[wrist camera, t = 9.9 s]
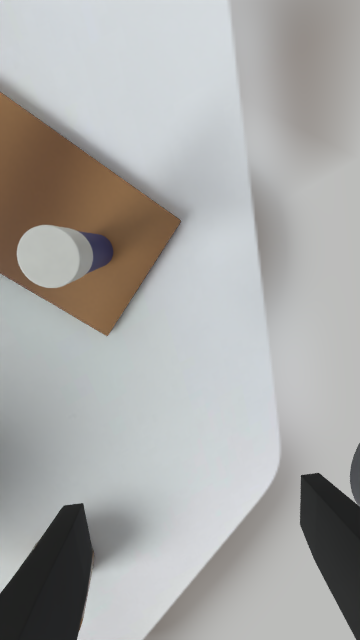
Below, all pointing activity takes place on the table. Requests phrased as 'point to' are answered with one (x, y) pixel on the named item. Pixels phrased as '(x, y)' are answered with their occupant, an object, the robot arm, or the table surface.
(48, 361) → the table surface
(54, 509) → the table surface
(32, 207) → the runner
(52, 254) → the marker
